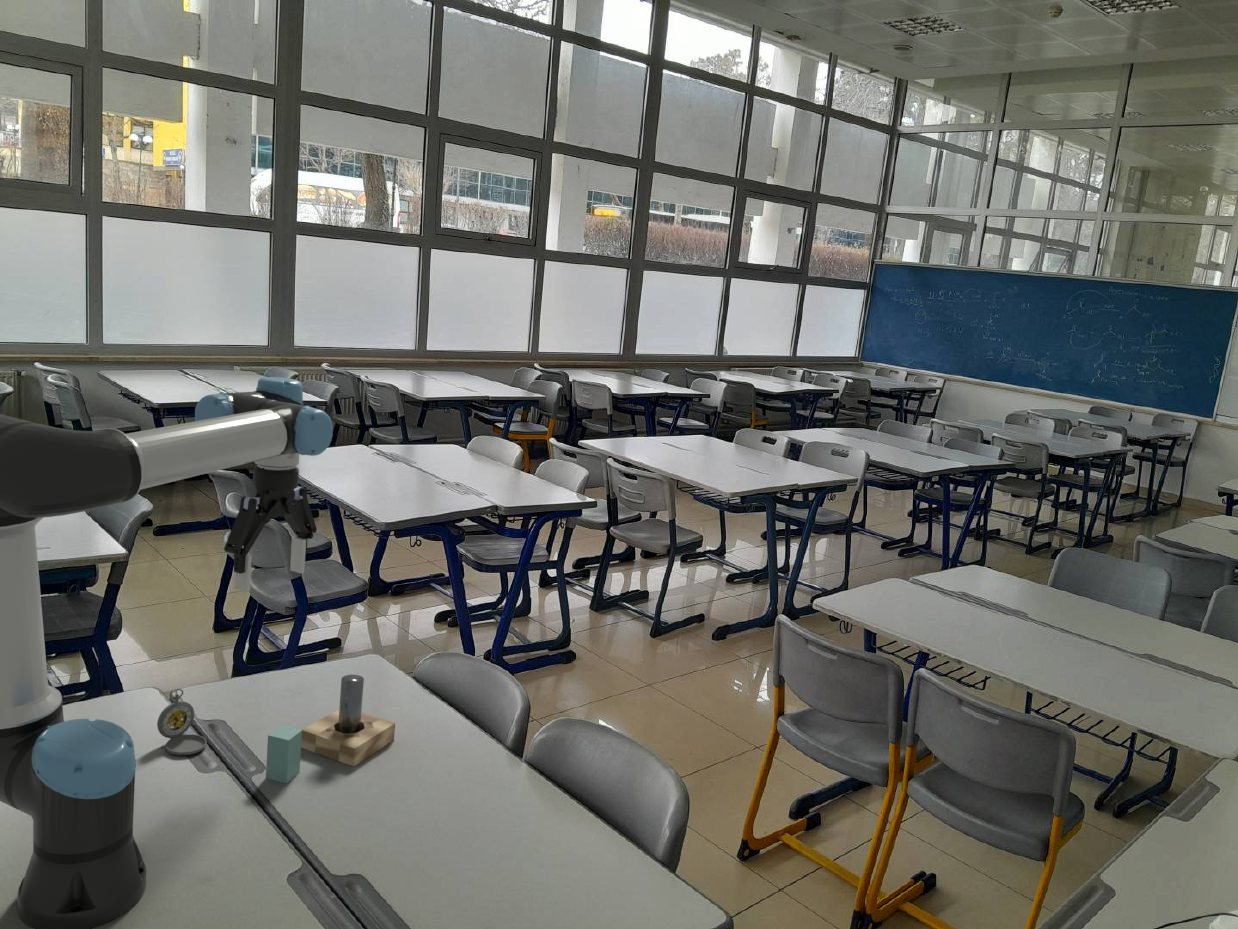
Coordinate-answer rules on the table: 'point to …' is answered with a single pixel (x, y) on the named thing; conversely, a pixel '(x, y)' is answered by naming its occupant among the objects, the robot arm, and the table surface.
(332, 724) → the socket block
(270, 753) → the square bit
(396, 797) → the table surface
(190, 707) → the pocket watch
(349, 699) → the cylinder
